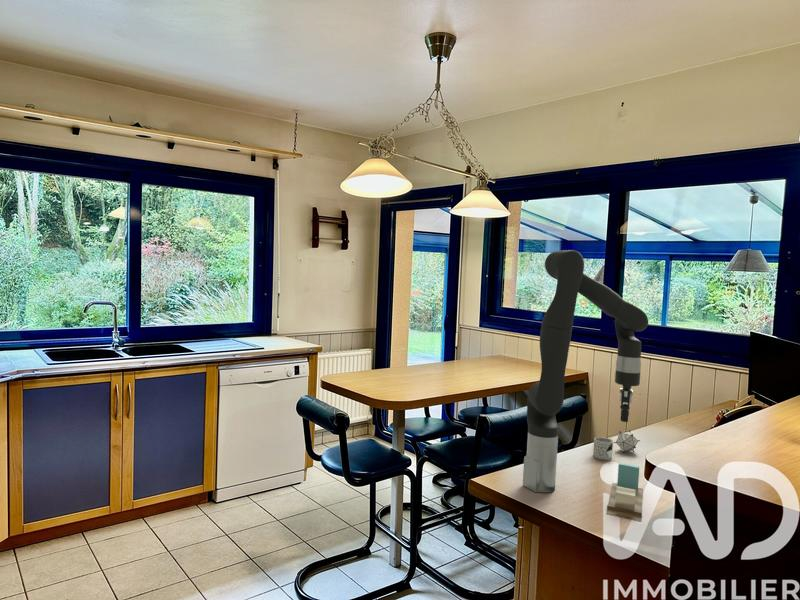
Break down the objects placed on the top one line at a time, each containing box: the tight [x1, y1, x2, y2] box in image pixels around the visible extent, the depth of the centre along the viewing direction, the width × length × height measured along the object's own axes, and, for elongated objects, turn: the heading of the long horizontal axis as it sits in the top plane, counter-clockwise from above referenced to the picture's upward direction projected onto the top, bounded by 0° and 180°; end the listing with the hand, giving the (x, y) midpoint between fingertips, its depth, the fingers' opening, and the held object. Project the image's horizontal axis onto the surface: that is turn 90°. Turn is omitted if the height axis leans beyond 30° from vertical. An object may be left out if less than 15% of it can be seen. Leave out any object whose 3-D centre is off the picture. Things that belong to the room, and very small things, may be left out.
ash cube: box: [615, 486, 636, 511], centre depth 149 cm, size 5×5×5 cm
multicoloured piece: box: [605, 462, 644, 523], centre depth 154 cm, size 26×9×8 cm, turn 154°
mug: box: [592, 436, 614, 461], centre depth 198 cm, size 10×7×7 cm
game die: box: [613, 430, 641, 454], centre depth 204 cm, size 9×8×10 cm
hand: (624, 418), depth 172 cm, fingers open, 8 cm apart
